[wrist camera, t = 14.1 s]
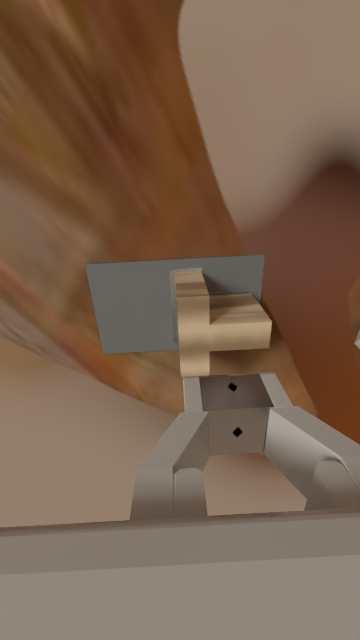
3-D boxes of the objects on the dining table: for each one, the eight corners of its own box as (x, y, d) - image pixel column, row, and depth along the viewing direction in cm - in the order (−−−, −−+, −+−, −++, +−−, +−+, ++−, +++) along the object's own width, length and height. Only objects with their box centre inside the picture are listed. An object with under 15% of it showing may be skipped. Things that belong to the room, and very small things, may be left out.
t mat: (85, 264, 42) (85, 264, 41) (264, 254, 42) (265, 254, 42) (103, 353, 49) (103, 354, 49) (256, 344, 49) (256, 345, 49)
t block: (175, 273, 42) (176, 297, 33) (253, 268, 42) (275, 292, 34) (179, 340, 48) (181, 377, 39) (248, 336, 48) (266, 372, 39)
